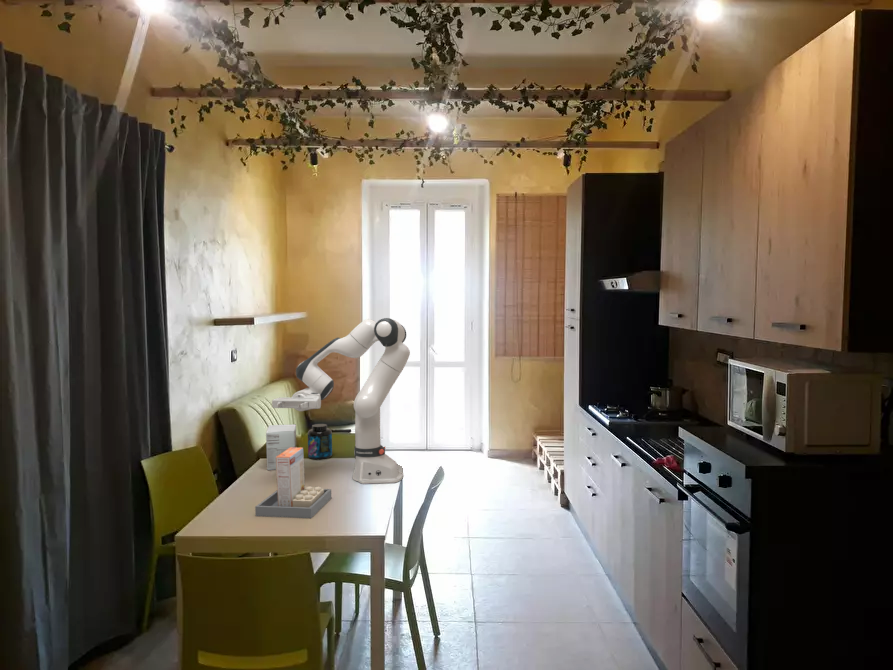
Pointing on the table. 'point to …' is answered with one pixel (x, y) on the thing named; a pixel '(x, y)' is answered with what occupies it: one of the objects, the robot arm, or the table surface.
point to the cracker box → (289, 475)
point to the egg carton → (308, 496)
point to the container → (319, 442)
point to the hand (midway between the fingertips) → (289, 406)
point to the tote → (273, 510)
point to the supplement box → (279, 442)
